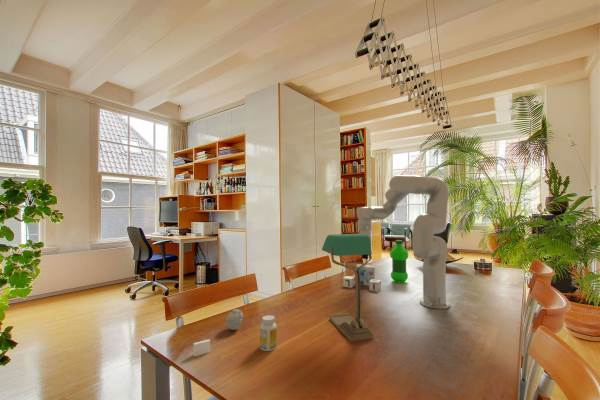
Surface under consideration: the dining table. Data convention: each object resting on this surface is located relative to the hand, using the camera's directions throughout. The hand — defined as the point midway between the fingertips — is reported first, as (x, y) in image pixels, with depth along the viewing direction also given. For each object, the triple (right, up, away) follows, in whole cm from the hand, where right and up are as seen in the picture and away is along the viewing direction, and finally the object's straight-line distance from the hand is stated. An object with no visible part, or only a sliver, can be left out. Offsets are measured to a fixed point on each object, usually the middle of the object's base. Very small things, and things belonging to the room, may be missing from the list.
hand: (365, 258), depth 166 cm
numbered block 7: (-10, -15, -5) cm, 19 cm away
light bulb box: (0, -15, 0) cm, 15 cm away
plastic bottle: (+22, -15, +4) cm, 27 cm away
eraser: (-69, -13, -79) cm, 106 cm away
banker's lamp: (-20, -14, -60) cm, 65 cm away
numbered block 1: (+3, -15, -12) cm, 19 cm away
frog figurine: (-63, -14, -62) cm, 89 cm away
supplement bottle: (-49, -13, -75) cm, 91 cm away
